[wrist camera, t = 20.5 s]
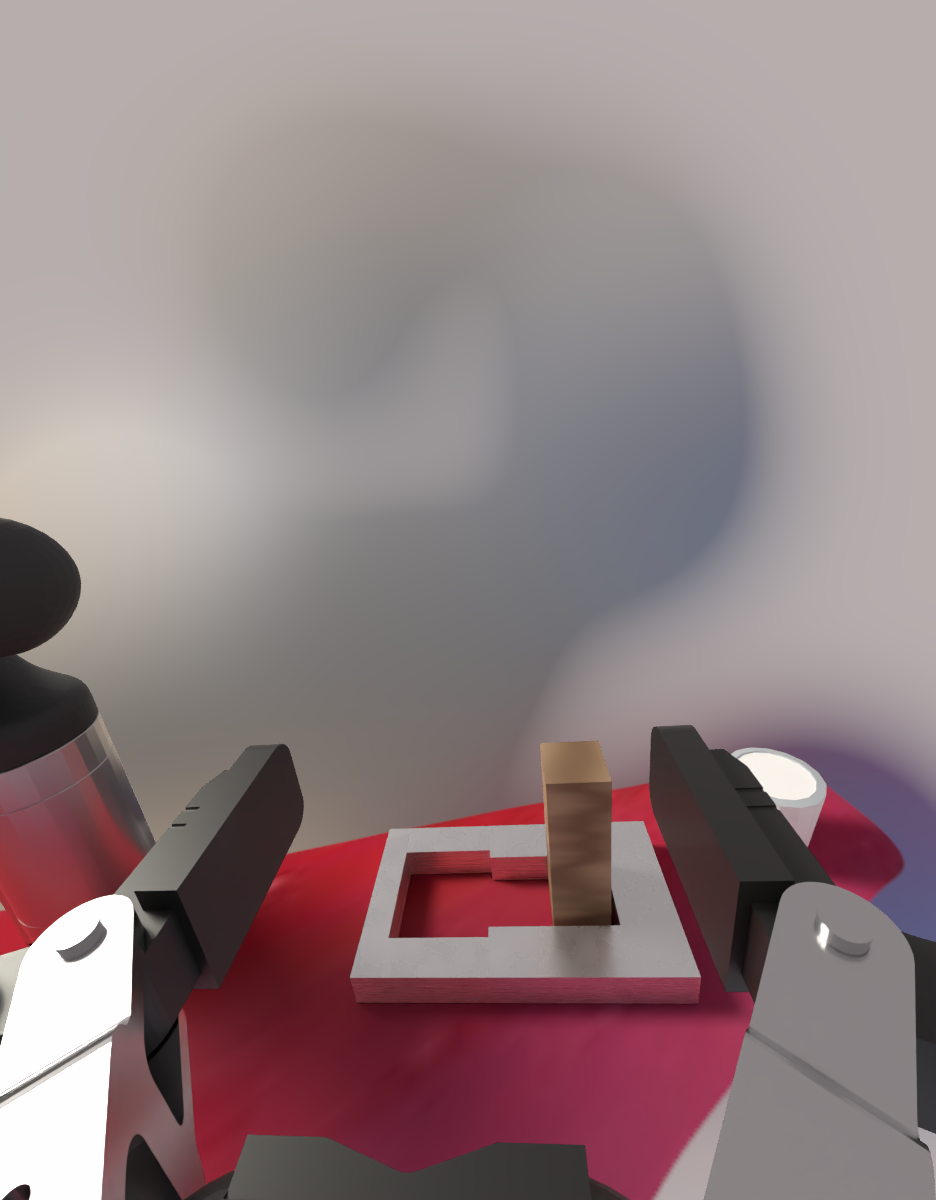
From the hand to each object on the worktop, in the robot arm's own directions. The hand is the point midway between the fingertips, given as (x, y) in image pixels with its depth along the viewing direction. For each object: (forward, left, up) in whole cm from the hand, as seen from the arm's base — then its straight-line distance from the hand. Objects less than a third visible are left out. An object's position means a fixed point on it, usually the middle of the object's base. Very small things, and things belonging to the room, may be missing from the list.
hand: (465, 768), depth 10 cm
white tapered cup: (+21, +23, -28) cm, 42 cm away
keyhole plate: (0, +17, -28) cm, 33 cm away
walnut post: (+5, +17, -28) cm, 33 cm away
